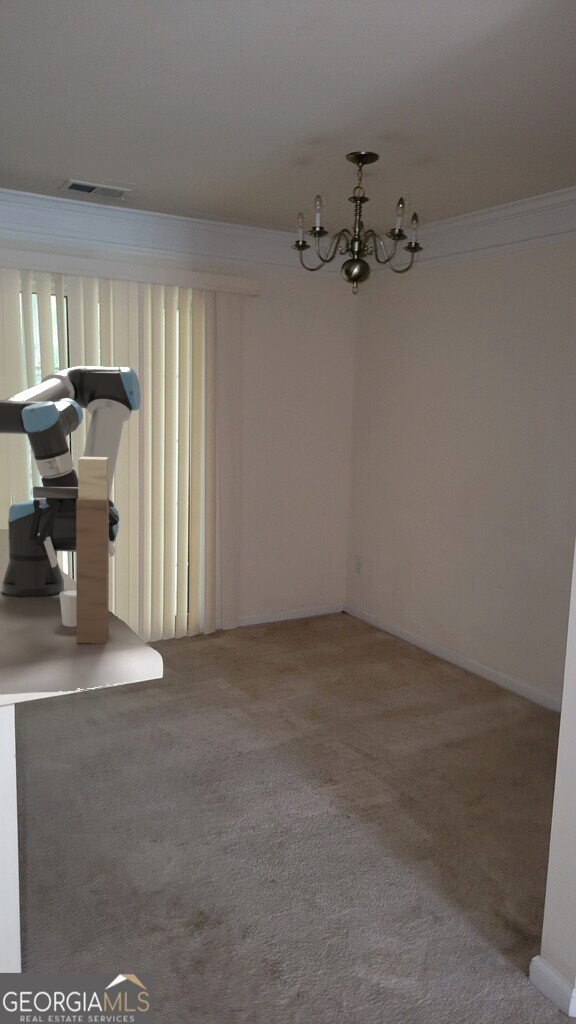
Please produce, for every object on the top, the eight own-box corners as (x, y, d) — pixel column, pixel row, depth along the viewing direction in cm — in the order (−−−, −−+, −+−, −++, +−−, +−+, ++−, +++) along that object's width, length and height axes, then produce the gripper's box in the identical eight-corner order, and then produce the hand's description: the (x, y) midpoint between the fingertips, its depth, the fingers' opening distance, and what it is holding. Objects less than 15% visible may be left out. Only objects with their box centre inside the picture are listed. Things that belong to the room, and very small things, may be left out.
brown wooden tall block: (80, 632, 162) (80, 495, 158) (108, 632, 163) (108, 495, 159) (76, 643, 154) (76, 500, 150) (106, 643, 155) (106, 500, 151)
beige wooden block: (36, 495, 156) (36, 455, 155) (108, 496, 159) (108, 457, 157) (31, 499, 149) (30, 457, 148) (106, 500, 152) (106, 459, 151)
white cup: (59, 628, 164) (59, 596, 163) (59, 619, 171) (59, 588, 170) (92, 627, 166) (92, 595, 165) (91, 618, 173) (91, 588, 172)
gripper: (-3, 488, 166) (26, 576, 173) (110, 467, 165) (134, 555, 173) (7, 478, 173) (35, 562, 180) (115, 457, 173) (139, 543, 180)
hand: (83, 559), depth 177 cm, fingers open, 13 cm apart
